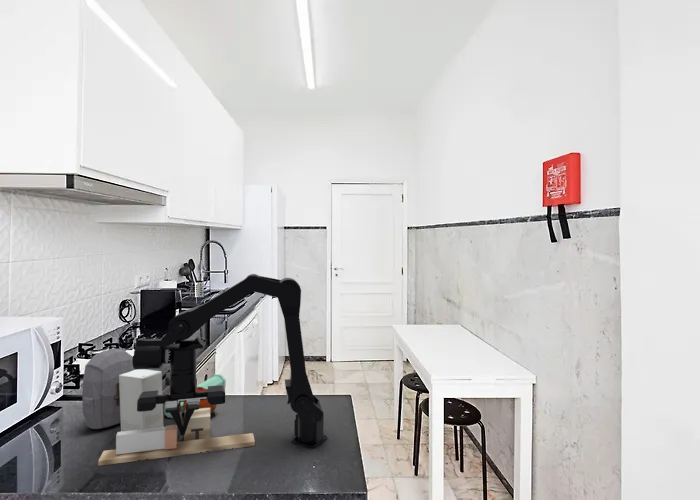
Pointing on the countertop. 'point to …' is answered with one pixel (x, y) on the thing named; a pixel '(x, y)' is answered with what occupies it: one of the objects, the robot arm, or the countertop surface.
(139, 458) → the plank
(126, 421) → the skincare box
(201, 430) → the wooden block
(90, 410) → the soft grey pack
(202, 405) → the fruit
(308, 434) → the robot arm
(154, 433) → the white and pink block
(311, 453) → the countertop surface
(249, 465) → the countertop surface
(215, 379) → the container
